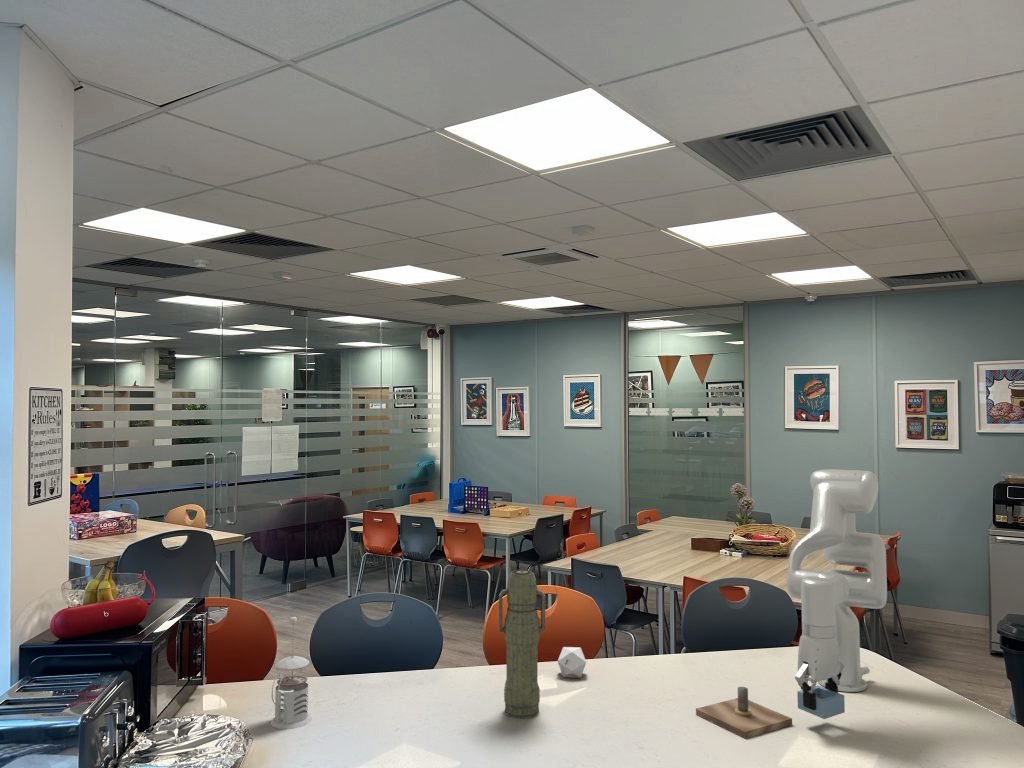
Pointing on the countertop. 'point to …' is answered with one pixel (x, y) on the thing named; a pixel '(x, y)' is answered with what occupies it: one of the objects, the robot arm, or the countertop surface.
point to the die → (572, 662)
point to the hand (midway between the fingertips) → (820, 704)
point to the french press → (291, 693)
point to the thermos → (522, 643)
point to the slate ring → (824, 703)
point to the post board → (743, 716)
